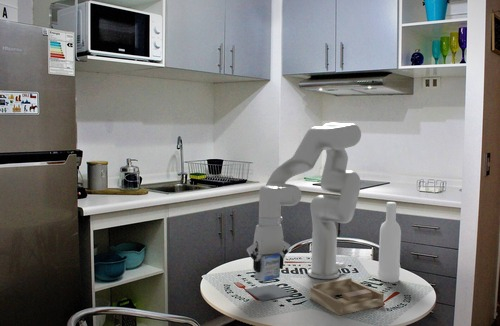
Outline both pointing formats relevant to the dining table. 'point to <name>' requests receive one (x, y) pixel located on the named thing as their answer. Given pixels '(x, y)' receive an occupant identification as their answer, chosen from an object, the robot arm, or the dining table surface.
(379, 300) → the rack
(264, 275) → the medicine box
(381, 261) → the bottle
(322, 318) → the dining table surface
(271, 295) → the mat
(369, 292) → the offcut stack
